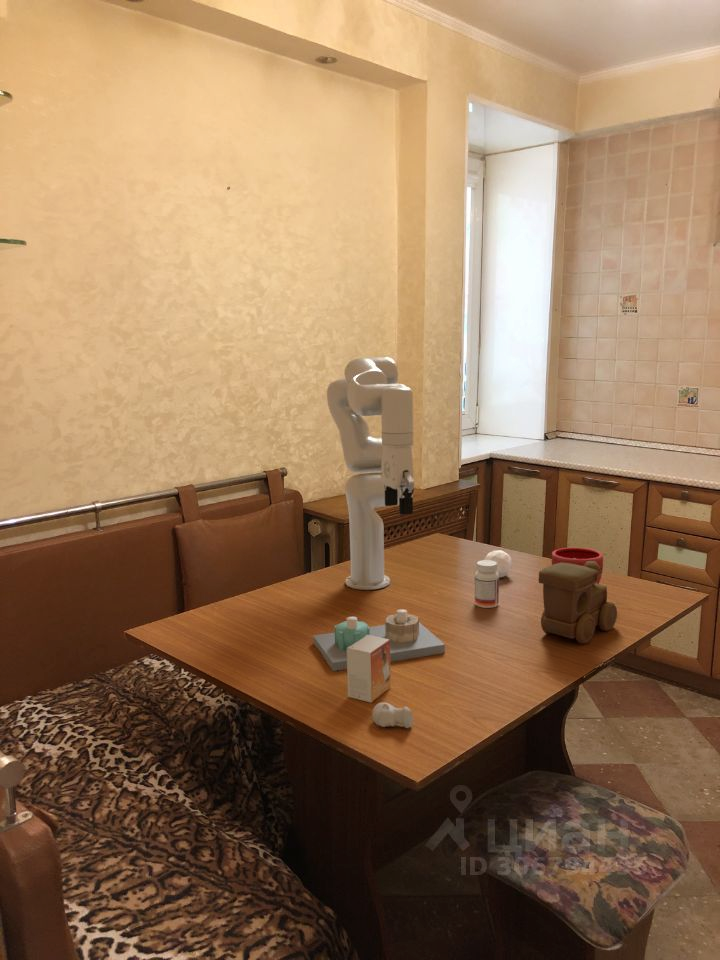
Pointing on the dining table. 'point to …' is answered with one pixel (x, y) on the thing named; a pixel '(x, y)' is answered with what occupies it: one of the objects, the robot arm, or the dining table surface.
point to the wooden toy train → (575, 601)
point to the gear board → (353, 631)
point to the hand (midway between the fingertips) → (398, 509)
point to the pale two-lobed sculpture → (392, 715)
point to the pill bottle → (486, 584)
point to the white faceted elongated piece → (500, 562)
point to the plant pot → (578, 557)
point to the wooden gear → (402, 629)
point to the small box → (368, 668)
